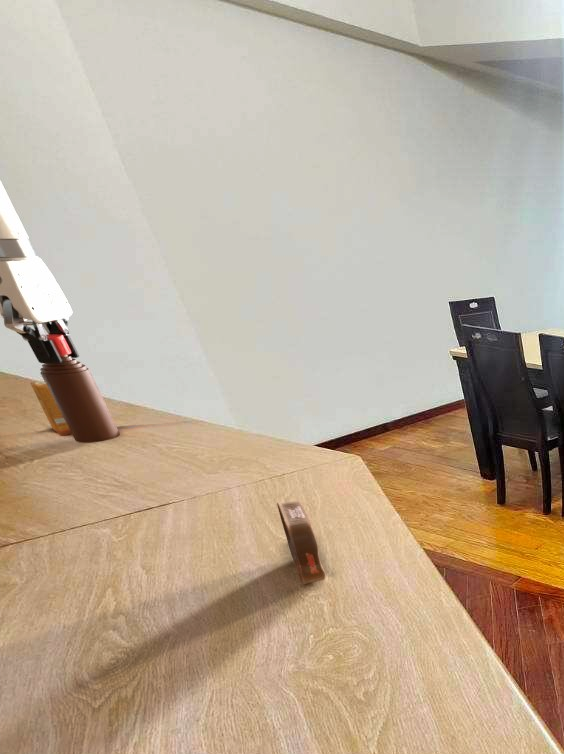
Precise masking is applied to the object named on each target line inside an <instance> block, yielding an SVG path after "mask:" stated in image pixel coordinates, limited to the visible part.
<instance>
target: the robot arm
mask: <svg viewBox="0 0 564 754" xmlns="http://www.w3.org/2000/svg"><path fill="white" fill-rule="evenodd" d="M72 315H73V310H72V308H71V305H70V304H69V302H68V299H67V298H66V296H65V294H64V292H63V290H62V289H61V287H60V285H59V284H58V282H57V280H56V279H55V277H54V275H53V274H52V272H51V271H50V270H49V268H48V267H47V265H46V264H45V262H44V261H43V260H42V258H40V257H39V256H38V253H37V252H36V249H35V247H34V245H33V244H32V242H31V240H30V238H29V235H28V234H27V232H26V230H25V228H24V226H23V223H22V222H21V220H20V218H19V215H18V213H17V212H16V210H15V208H14V205H13V203H12V201H11V199H10V198H9V196H8V194H7V191H6V189H5V188H4V185H3V183H2V181H1V180H0V316H1V318H2V319H3V325H4V327H5V328H7V329H8V330H11V331H14V332H16V333H17V334H18V335H20V336H21V337H22V339H23V341H25V342H27V343H28V345H29V346H30V348H31V351H32V353H33V354H34V356H35V358H36V360H37V362H38V363H40V364H44V363H61V362H62V359H61V358H60V356H59V354H58V352H57V350H56V348H55V346H54V344H53V342H52V340H47V336H46V335H48V334H59V335H63V337H64V338H65V340H66V342H67V344H68V346H69V348H70V350H71V354H68V355H69V356H71V357H72V358H73V359H77V358H79V357H80V354H79V352H78V350H77V349H76V346H75V344H74V343H73V340H72V338H71V337H70V335H71V332H70V329H69V328H68V325H69V320H70V318H71V316H72ZM31 326H32V327H33V328H32V327H31ZM45 331H46V332H45Z"/></svg>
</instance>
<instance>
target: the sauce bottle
mask: <svg viewBox="0 0 564 754" xmlns="http://www.w3.org/2000/svg"><path fill="white" fill-rule="evenodd" d="M60 358H61V359H62V362H61V363H42V365H41V368H40V369H39V370H40V371H39V372H40V375H41V378H42V379H43V382H44V381H45V383H46V385H47V387H48V389H49V391H50V393H51V394H52V396H53V398H54V400H55V402H56V404H57V406H58V408H59V410H60V412H61V414H62V416H63V418H64V419H65V421H66V423H67V425H68V427H69V429H70V431H71V433H72V434H71V435H72V436H73V439H74V440H75V441H76V442H78V441H79V442H78V443H94V442H95V441H96V442H103V441H108V440H112V439H115V438H118V437H119V436H120V435H121V433H120V431H119V429H118V427H117V425H116V423H115V420H114V419H113V417H112V414H111V412H110V410H109V408H108V406H107V404H106V401H105V399H104V398H103V395H102V393H101V391H100V389H99V387H98V385H97V383H96V381H95V379H94V377H93V375H92V372H91V370H90V369H89V368H88V367H87V366H86V364H82V362H81V361H78V360H77V358H72V357H71V356H69V355H62V356H60Z"/></svg>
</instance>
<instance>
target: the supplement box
mask: <svg viewBox="0 0 564 754" xmlns="http://www.w3.org/2000/svg"><path fill="white" fill-rule="evenodd" d="M30 386H31V388H32V389H33V392H34V394H35V396H36V398H37V400H38V402H39V404H40V406H41V408H42V410H43V413H44V414H45V416H46V419H47V420H48V422H49V425H50V427H51V429H53V432H54V433H55V434H56V435H58V436H60V437H62V436H63V435H64V436H69V435H68V434H70V435H72V433H71V431H70V429H69V427H68V425H67V423H66V421H65V419H64V418H63V416H62V414H61V412H60V410H59V408H58V406H57V404H56V402H55V400H54V398H53V396H52V394H51V393H50V391H49V389H48V387H47V385H46V383H45V381H44V380H43V381H35V382H30Z"/></svg>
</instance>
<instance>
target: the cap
mask: <svg viewBox="0 0 564 754" xmlns="http://www.w3.org/2000/svg"><path fill="white" fill-rule="evenodd" d="M46 336H47V340H52V342H53V344H54V346H55V348H56V350H57V352H58V354H59V356H62V355H68V354H71V350H70V348H69V346H68V344H67V342H66V340H65V338H64V337H63V335H59V334H48V333H47V334H46Z"/></svg>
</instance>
